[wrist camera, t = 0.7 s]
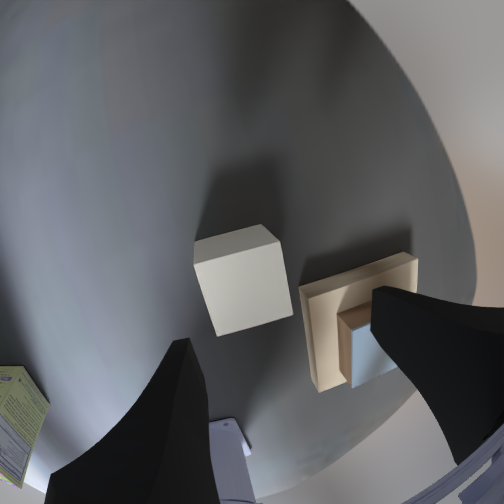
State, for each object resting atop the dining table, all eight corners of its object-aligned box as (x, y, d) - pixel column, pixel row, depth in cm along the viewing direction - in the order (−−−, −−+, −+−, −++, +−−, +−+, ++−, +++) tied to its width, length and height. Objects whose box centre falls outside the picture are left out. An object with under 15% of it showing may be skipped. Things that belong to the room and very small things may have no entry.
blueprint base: (311, 378, 23) (329, 411, 19) (298, 286, 20) (323, 316, 16) (398, 340, 25) (423, 364, 20) (403, 251, 21) (438, 269, 17)
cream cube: (212, 300, 19) (217, 336, 15) (194, 241, 18) (193, 264, 14) (273, 283, 20) (293, 314, 16) (260, 223, 18) (280, 241, 14)
